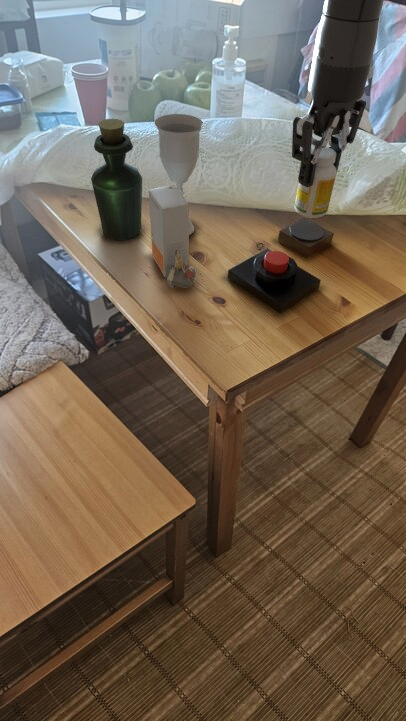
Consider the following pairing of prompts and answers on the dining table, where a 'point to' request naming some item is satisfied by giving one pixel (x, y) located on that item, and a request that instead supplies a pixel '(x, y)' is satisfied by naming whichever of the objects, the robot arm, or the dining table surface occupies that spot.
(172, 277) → the figurine
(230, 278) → the button housing
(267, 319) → the dining table surface
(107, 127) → the potion bottle
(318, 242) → the stand
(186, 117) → the chalice
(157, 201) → the cosmetic box
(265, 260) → the button
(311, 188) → the supplement bottle
